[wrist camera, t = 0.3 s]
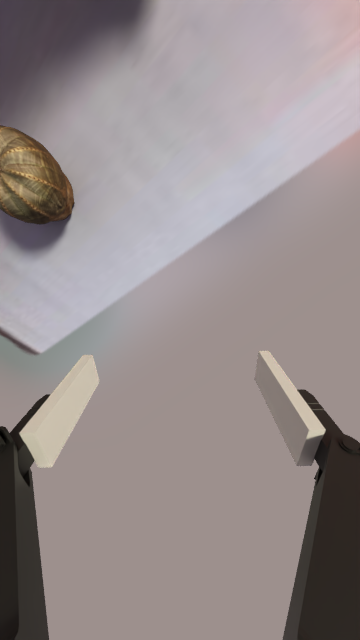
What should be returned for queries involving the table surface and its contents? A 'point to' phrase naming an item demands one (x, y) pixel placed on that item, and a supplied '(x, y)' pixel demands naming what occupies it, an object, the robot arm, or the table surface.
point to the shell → (31, 180)
